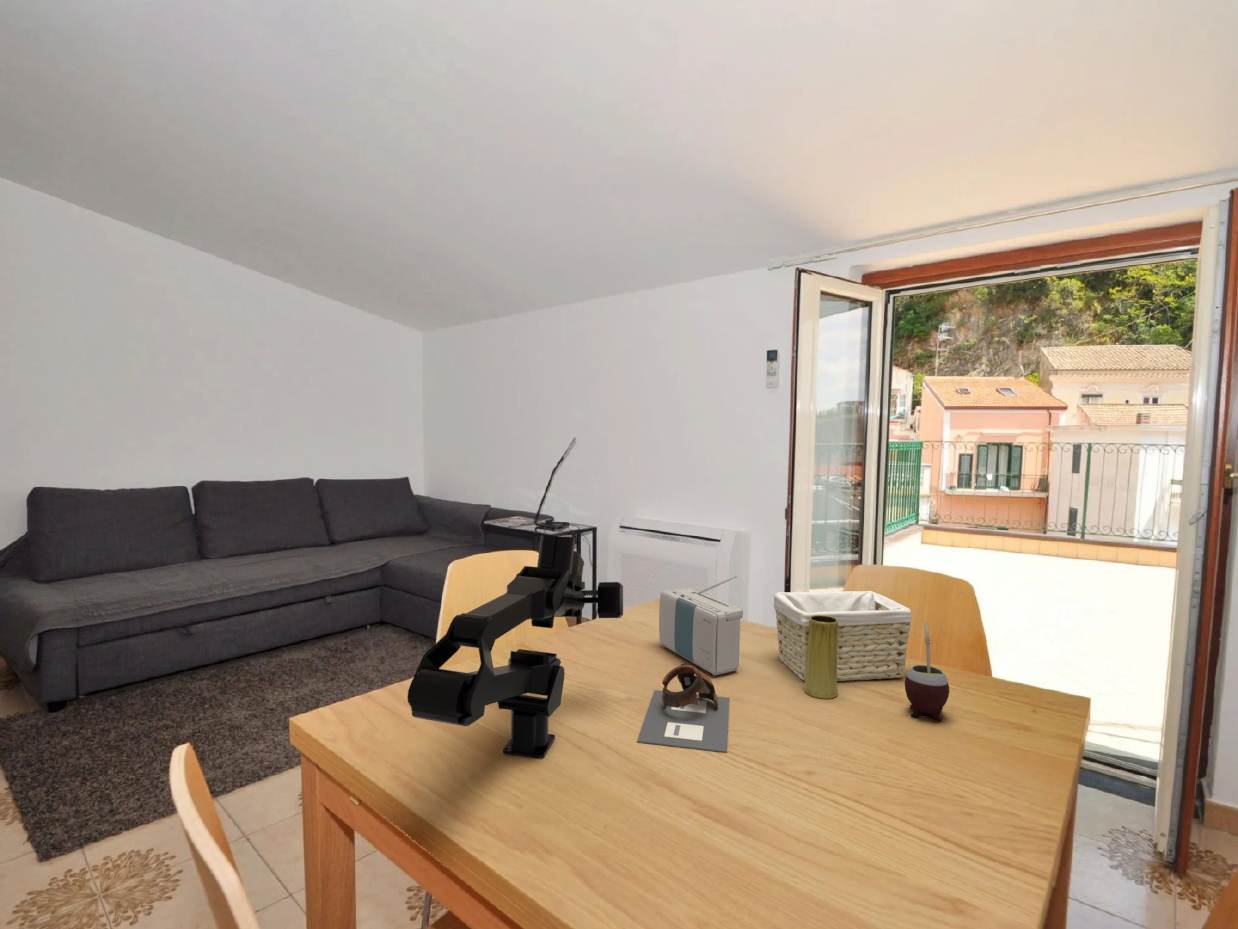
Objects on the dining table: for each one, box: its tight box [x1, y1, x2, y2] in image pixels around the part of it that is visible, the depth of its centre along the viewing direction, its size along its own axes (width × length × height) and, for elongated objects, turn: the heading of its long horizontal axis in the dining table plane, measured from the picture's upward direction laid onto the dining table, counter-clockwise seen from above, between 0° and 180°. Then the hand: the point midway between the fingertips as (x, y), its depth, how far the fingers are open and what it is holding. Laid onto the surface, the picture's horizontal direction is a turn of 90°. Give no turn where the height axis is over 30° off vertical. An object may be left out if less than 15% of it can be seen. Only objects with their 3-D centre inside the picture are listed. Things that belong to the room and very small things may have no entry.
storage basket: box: [773, 590, 912, 682], centre depth 131 cm, size 24×16×15 cm
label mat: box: [636, 689, 730, 754], centre depth 107 cm, size 20×14×1 cm
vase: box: [803, 615, 838, 700], centre depth 119 cm, size 6×6×14 cm
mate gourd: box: [904, 621, 950, 724], centre depth 110 cm, size 8×8×15 cm
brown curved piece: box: [661, 661, 718, 710], centre depth 112 cm, size 12×10×8 cm
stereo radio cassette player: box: [658, 575, 744, 677], centre depth 135 cm, size 21×8×20 cm, turn 28°
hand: (586, 602), depth 120 cm, fingers open, 9 cm apart
